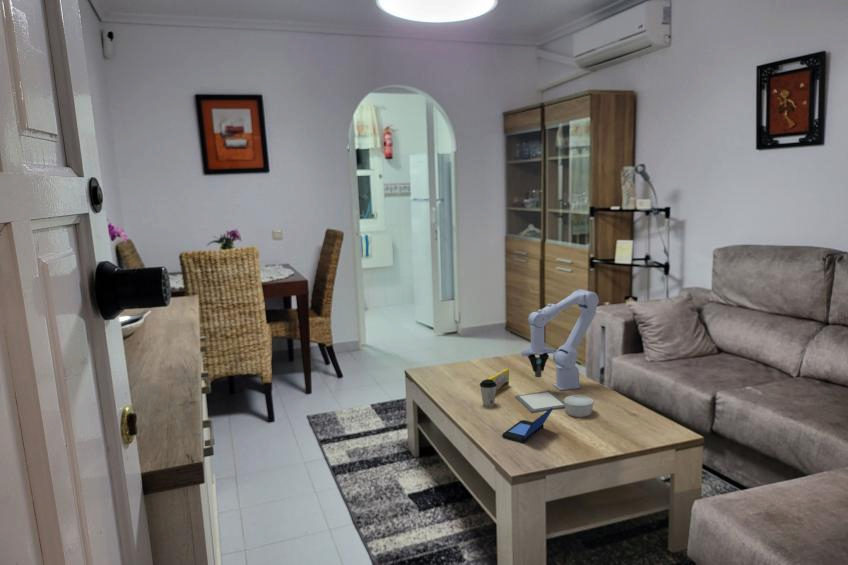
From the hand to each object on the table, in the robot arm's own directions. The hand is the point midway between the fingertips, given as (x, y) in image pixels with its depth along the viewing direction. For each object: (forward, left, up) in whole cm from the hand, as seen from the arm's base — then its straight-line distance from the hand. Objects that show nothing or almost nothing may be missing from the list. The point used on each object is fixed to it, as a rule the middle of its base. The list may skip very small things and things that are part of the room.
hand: (538, 370), depth 247 cm
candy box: (+16, -7, -10) cm, 20 cm away
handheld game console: (+21, +38, -10) cm, 44 cm away
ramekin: (-5, +26, -10) cm, 29 cm away
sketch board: (+4, +11, -9) cm, 15 cm away
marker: (0, 0, -2) cm, 2 cm away
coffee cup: (+25, +6, -10) cm, 27 cm away
